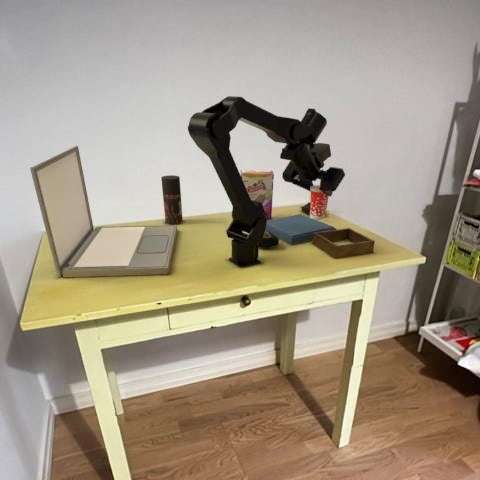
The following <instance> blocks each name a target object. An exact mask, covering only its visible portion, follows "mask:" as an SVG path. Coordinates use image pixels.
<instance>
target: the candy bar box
mask: <svg viewBox="0 0 480 480" xmlns="http://www.w3.org/2000/svg"><path fill="white" fill-rule="evenodd" d="M239 173H240V175H241V178H242V180H243V182H244V185H245V187H246V189H247V192H248V194H249V196H250V199H251V200H253V201H257V202H261V203H262V205H263V208H264V211H265V213H266V214H267V216H266V219H267V220H271V219H272V213H273V197H274V196H273V195H274V177H275V173H274V171H273V170H270V169H240V170H239Z"/></svg>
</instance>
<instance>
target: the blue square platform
mask: <svg viewBox="0 0 480 480" xmlns="http://www.w3.org/2000/svg"><path fill="white" fill-rule="evenodd" d="M330 230H337V228H335V226H333V225H331V224H328V223H325V222H323V221H321V220H316V219H311V218H310V216H308V215H304V214H301V213H299V214H294V215H289V216H283V217H282V216H281V217H278V218H271V220H267V224H266V229H265V232H268V231H269V232H271V233H272V234H273V235H275V236H276V237H277V238H278V239H279V240H280V241H282V242H285V243H287V244H289V245H295V244H300V243H305V242H309V241H313V233H314V232H322V231H330Z"/></svg>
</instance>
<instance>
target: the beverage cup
mask: <svg viewBox="0 0 480 480" xmlns="http://www.w3.org/2000/svg"><path fill="white" fill-rule="evenodd" d="M321 170H323V171H324V169H323V168H321ZM319 180H320V181H319V184H315V185H314V184H313V185H314V186H310V190H311V192H310V201H309V202H310V215H309V217H310V218H311V219H315V220H317V221H322V220H325V219H326V215H327V208H328V203H329V202H328V201H329V197H330V196H328V195H326V194H325V193H324V192H322V191H321V190H319V188H320V186H321V179H319ZM325 214H326V215H325Z"/></svg>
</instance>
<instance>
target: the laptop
mask: <svg viewBox="0 0 480 480" xmlns="http://www.w3.org/2000/svg"><path fill="white" fill-rule="evenodd" d="M29 169H30V174H31V177H32V182H33V186H34V189H35V194H36V197H37V202H38V205H39V210H40V213H41V217H42V221H43V225H44V229H45V232H46V237H47V240H48V245H49V249H50V252H51V253H50V254H51V256H52V261H53V264H54V268H55V272H56V276H57V278H61V277H63V278H79V277H80V278H81V277H82V278H85V277H86V278H87V277H115V276H117V277H119V276H122V277H123V276H150V275H151V276H153V275H156V276H158V275H169V272H170V267H171V263H172V258H173V252H174V247H175V243H176V242H175V241H176V238H177V234H178V224H177V225H170V224H167V225H166V224H165V225H163V224H162V225H120V226H119V225H118V226H96V227H95V228H94V224H93V218H92V212H91V208H90V202H89V197H88V192H87V186H86V181H85V175H84V171H83V170H84V169H83V166H82V159H81V155H80V149H79V145H74V146H72V147H70V148H68V149H66V150H64V151H62V152H60V153H58V154H56V155H53V156H51V157H49V158H47V159H44V160H43V161H40V162H39V163H37V164H34V165H32V166H30V167H29Z"/></svg>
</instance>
